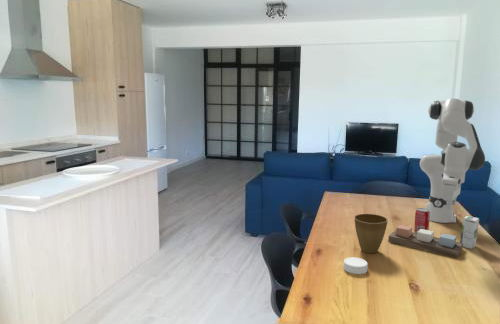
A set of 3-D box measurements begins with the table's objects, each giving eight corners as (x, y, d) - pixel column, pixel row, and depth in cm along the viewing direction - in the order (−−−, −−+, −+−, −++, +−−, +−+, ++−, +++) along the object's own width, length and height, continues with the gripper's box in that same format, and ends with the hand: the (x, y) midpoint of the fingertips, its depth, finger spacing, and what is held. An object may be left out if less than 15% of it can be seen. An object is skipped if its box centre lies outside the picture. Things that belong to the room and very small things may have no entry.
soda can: (429, 235, 199) (432, 211, 197) (415, 234, 201) (417, 211, 198) (426, 231, 206) (428, 208, 204) (412, 230, 208) (414, 207, 205)
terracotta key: (399, 231, 196) (400, 224, 195) (411, 234, 192) (412, 227, 192) (395, 235, 191) (396, 227, 191) (408, 237, 188) (408, 230, 187)
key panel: (396, 234, 201) (396, 229, 200) (462, 249, 182) (462, 243, 181) (388, 241, 191) (388, 235, 190) (456, 257, 172) (457, 251, 171)
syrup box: (463, 242, 190) (466, 215, 187) (476, 246, 185) (479, 217, 183) (459, 246, 186) (462, 217, 183) (472, 249, 181) (476, 220, 179)
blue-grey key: (441, 241, 184) (442, 233, 183) (455, 244, 180) (456, 236, 179) (438, 244, 179) (439, 236, 178) (452, 247, 175) (453, 239, 175)
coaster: (363, 277, 153) (364, 269, 153) (339, 271, 159) (340, 263, 158) (370, 267, 162) (370, 260, 161) (347, 262, 167) (347, 254, 166)
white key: (420, 236, 190) (420, 228, 189) (432, 239, 186) (433, 231, 185) (416, 239, 185) (417, 232, 185) (429, 242, 182) (430, 234, 181)
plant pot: (385, 246, 184) (387, 215, 181) (385, 258, 170) (387, 224, 168) (353, 242, 189) (355, 211, 186) (351, 254, 175) (353, 221, 172)
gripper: (450, 173, 184) (448, 201, 186) (441, 180, 168) (438, 210, 171) (465, 175, 180) (462, 203, 183) (457, 182, 164) (454, 212, 167)
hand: (450, 206), depth 176 cm, fingers open, 8 cm apart
